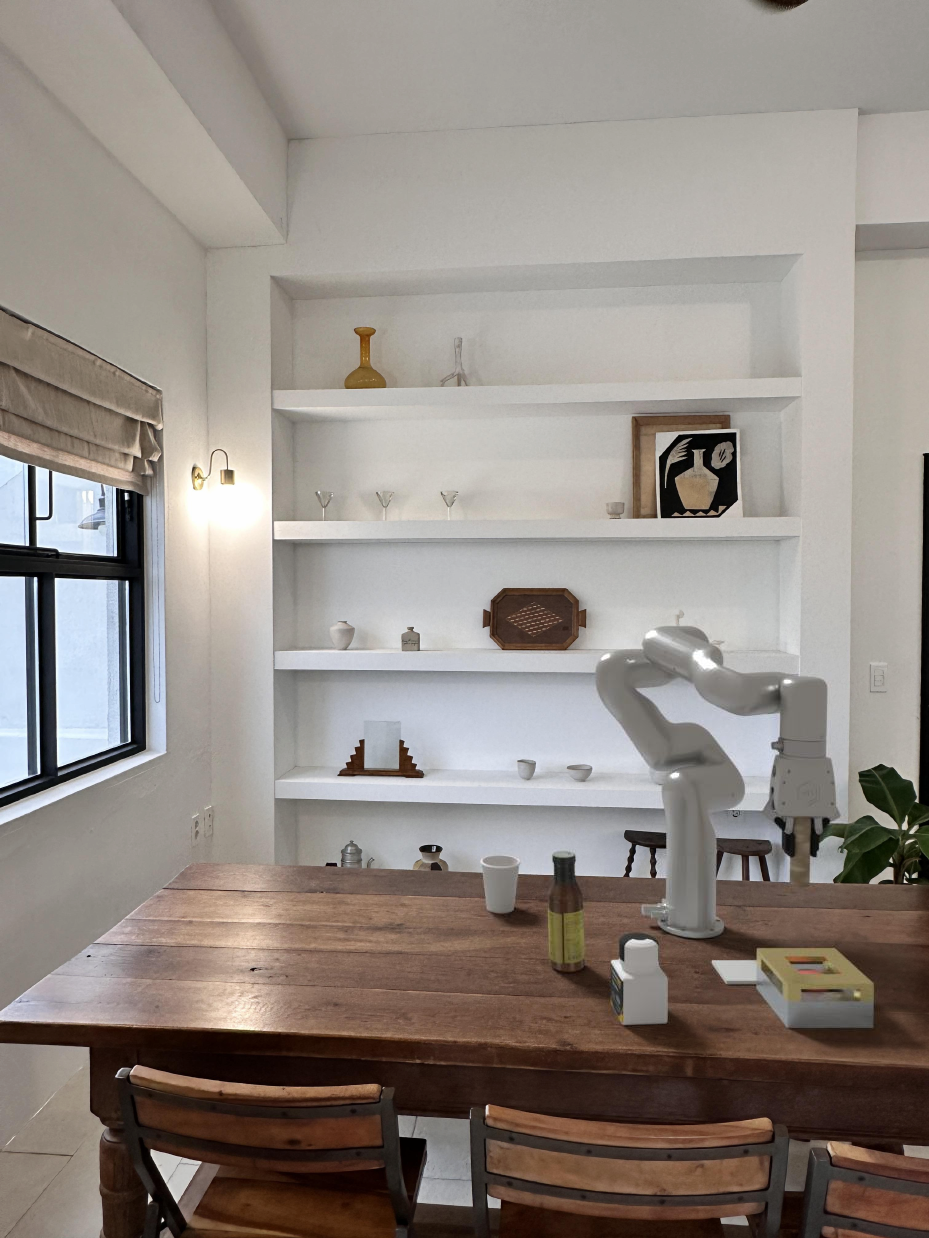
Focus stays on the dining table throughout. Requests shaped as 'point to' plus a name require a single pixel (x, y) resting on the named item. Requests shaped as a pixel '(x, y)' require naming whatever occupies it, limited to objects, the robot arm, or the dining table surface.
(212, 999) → the dining table surface
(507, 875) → the dixie cup
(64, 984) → the dining table surface
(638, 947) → the medicine bottle
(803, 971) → the button
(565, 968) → the sauce bottle
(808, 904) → the dining table surface
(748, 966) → the pad
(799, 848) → the beige cylinder rod
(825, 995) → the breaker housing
